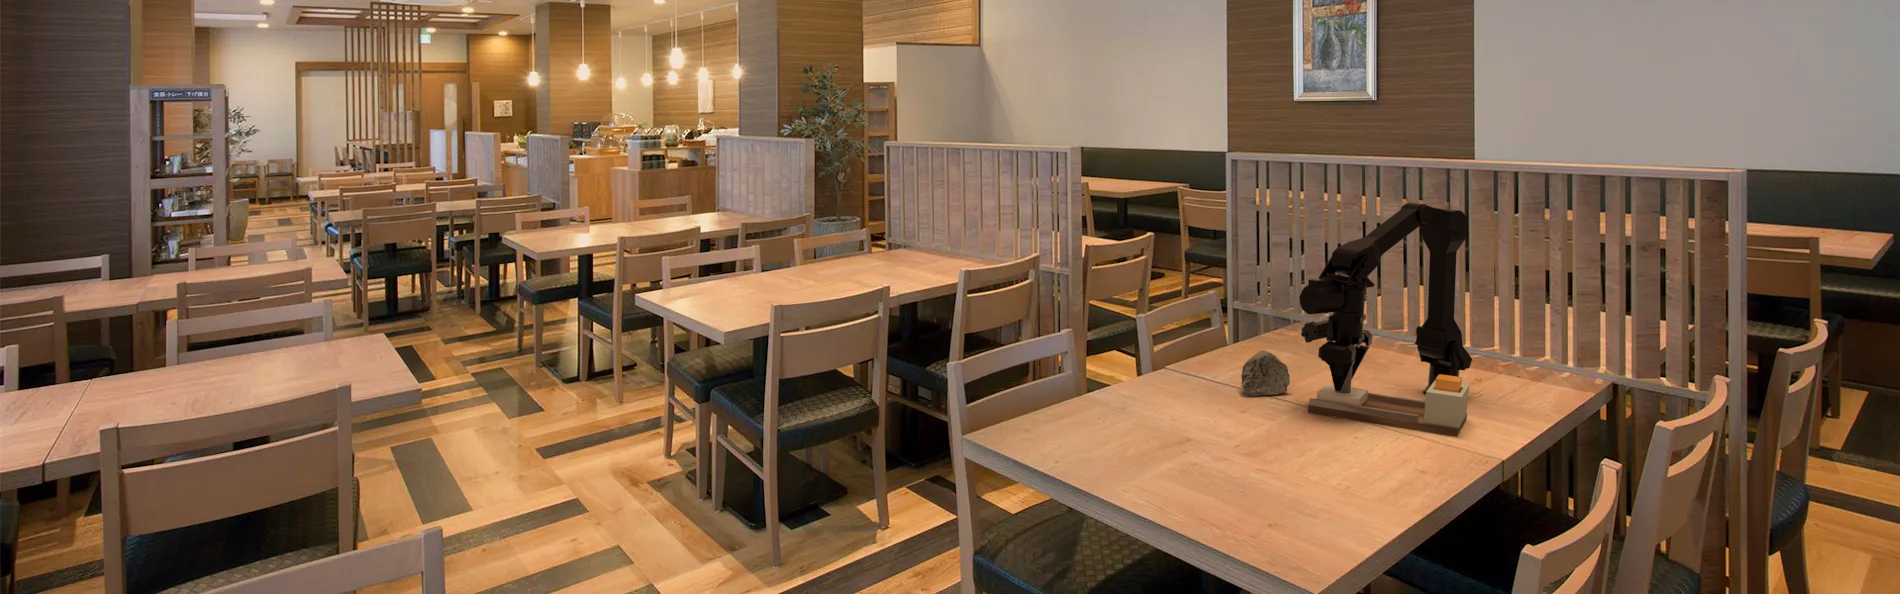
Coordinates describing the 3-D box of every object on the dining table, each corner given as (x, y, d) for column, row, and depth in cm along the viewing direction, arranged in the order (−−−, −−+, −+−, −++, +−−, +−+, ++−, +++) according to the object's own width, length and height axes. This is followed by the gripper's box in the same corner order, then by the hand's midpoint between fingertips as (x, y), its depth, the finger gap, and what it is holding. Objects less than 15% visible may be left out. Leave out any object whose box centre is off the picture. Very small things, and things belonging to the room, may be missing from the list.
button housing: (1432, 409, 193) (1435, 379, 192) (1466, 414, 189) (1469, 384, 188) (1423, 422, 185) (1426, 391, 184) (1458, 427, 181) (1461, 396, 180)
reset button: (1436, 399, 189) (1439, 374, 188) (1459, 402, 187) (1462, 377, 186) (1433, 404, 186) (1435, 378, 185) (1456, 407, 184) (1459, 382, 183)
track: (1323, 398, 206) (1324, 385, 205) (1466, 420, 190) (1467, 407, 190) (1308, 412, 196) (1308, 399, 196) (1457, 437, 181) (1458, 423, 180)
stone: (1273, 352, 204) (1267, 340, 213) (1234, 380, 207) (1229, 366, 216) (1302, 386, 204) (1294, 373, 214) (1262, 414, 207) (1256, 399, 217)
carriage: (1326, 392, 203) (1329, 355, 202) (1367, 399, 199) (1370, 361, 197) (1316, 402, 197) (1318, 363, 195) (1358, 408, 192) (1361, 369, 191)
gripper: (1319, 298, 206) (1314, 369, 209) (1294, 313, 191) (1289, 390, 194) (1375, 304, 200) (1369, 377, 203) (1353, 320, 185) (1348, 399, 188)
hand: (1343, 385), depth 197 cm, fingers open, 8 cm apart
